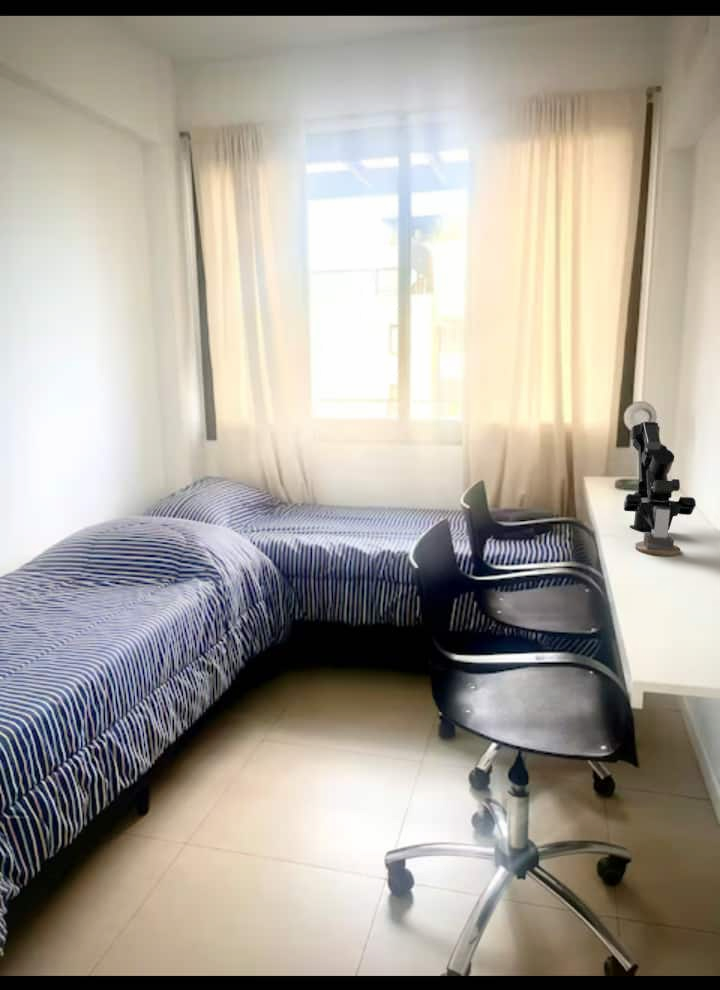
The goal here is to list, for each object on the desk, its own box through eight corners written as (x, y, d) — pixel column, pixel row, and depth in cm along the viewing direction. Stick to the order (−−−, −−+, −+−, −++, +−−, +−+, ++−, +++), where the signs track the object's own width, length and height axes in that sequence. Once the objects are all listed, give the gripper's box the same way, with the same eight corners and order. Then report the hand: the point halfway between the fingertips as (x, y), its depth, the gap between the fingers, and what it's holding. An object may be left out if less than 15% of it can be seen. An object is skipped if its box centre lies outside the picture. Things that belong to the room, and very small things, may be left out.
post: (650, 543, 202) (653, 506, 200) (663, 544, 201) (667, 507, 199) (652, 547, 198) (656, 509, 196) (666, 548, 198) (670, 510, 195)
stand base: (632, 542, 207) (633, 530, 206) (675, 545, 205) (676, 532, 204) (638, 554, 196) (640, 541, 195) (684, 557, 193) (685, 544, 192)
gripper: (629, 467, 201) (631, 512, 193) (698, 470, 197) (703, 516, 189) (622, 487, 210) (624, 532, 202) (688, 491, 206) (693, 536, 198)
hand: (660, 529), depth 197 cm, fingers closed on post, 4 cm apart
